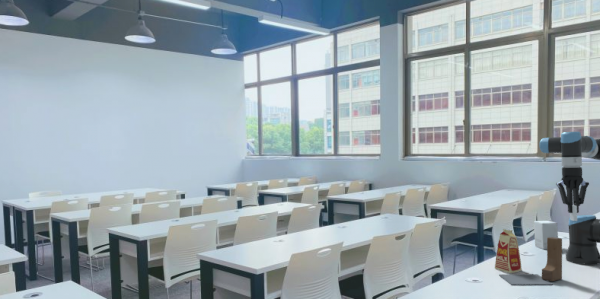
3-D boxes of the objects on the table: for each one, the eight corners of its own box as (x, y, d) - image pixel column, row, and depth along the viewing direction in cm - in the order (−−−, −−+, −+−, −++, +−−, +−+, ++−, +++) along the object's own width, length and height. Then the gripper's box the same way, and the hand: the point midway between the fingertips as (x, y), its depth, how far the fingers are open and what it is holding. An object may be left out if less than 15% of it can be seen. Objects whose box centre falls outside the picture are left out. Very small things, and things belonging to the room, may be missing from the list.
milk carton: (510, 273, 198) (509, 230, 198) (493, 268, 206) (492, 227, 207) (523, 270, 202) (521, 228, 203) (506, 265, 211) (504, 225, 211)
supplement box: (559, 249, 240) (558, 222, 240) (543, 249, 240) (542, 223, 240) (549, 245, 249) (548, 220, 249) (534, 246, 249) (533, 220, 249)
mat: (537, 275, 194) (537, 274, 194) (552, 285, 180) (552, 283, 180) (499, 275, 195) (499, 274, 195) (511, 285, 181) (511, 284, 181)
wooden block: (552, 281, 182) (552, 239, 183) (541, 279, 186) (541, 238, 187) (562, 279, 187) (562, 238, 188) (551, 276, 191) (551, 236, 192)
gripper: (560, 167, 183) (562, 222, 182) (592, 166, 181) (594, 221, 181) (551, 166, 190) (553, 219, 190) (582, 166, 189) (584, 218, 189)
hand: (573, 220), depth 186 cm, fingers closed
